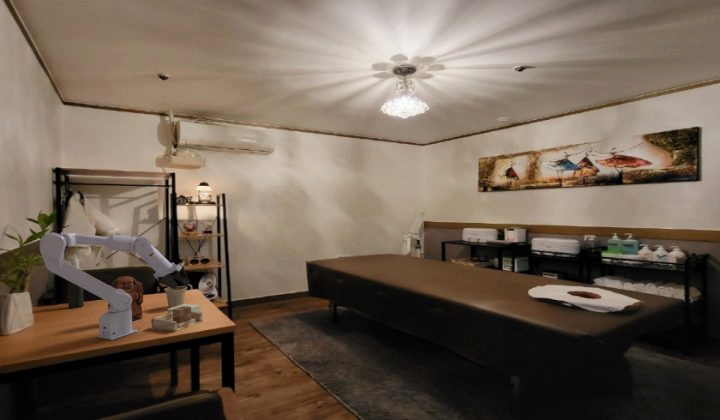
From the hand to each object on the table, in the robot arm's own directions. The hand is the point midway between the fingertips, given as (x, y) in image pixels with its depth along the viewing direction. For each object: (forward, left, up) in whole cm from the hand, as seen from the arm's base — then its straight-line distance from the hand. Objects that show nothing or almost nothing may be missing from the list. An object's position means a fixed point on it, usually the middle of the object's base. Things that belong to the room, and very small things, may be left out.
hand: (182, 285), depth 147 cm
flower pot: (+15, +21, -14) cm, 29 cm away
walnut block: (-4, -5, -12) cm, 14 cm away
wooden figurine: (-7, +23, -14) cm, 28 cm away
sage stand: (+7, +7, -14) cm, 17 cm away
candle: (-1, +67, -14) cm, 68 cm away
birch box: (-4, -2, -14) cm, 15 cm away
